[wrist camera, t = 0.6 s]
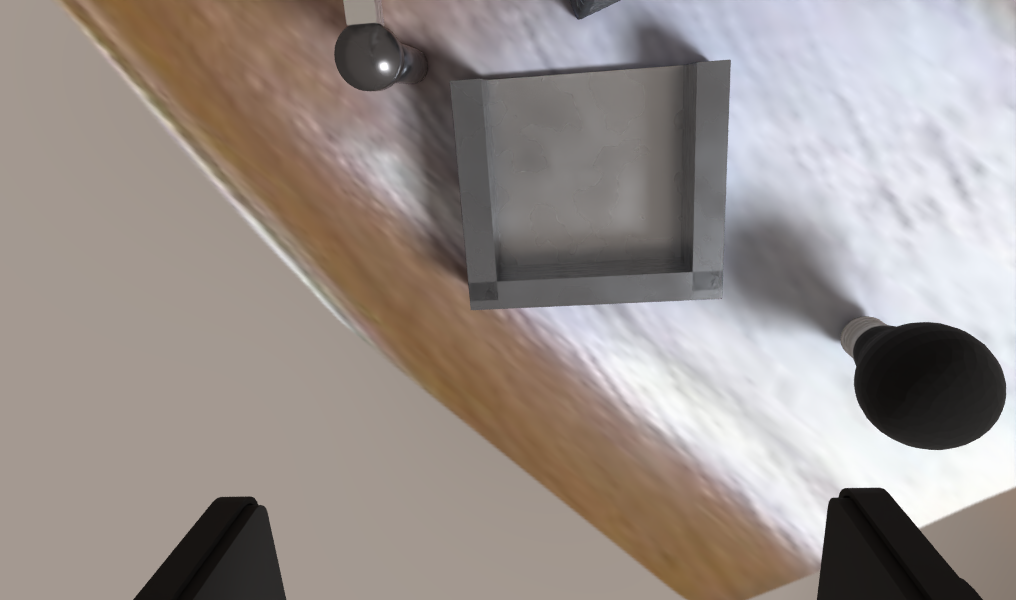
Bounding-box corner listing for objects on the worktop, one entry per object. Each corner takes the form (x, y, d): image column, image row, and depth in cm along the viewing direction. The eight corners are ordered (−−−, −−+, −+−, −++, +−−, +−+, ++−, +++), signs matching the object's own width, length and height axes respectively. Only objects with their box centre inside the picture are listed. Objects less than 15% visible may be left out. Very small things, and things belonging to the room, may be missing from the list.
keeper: (391, 48, 33) (351, 37, 26) (712, 22, 31) (756, 3, 25) (420, 293, 37) (392, 336, 30) (705, 279, 36) (741, 322, 29)
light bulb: (789, 367, 37) (871, 461, 27) (822, 272, 35) (924, 339, 26) (887, 386, 37) (1004, 487, 27) (926, 292, 35) (1066, 366, 26)
